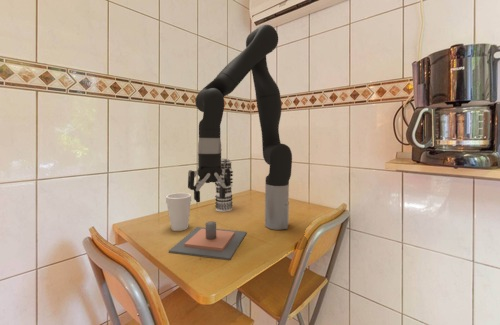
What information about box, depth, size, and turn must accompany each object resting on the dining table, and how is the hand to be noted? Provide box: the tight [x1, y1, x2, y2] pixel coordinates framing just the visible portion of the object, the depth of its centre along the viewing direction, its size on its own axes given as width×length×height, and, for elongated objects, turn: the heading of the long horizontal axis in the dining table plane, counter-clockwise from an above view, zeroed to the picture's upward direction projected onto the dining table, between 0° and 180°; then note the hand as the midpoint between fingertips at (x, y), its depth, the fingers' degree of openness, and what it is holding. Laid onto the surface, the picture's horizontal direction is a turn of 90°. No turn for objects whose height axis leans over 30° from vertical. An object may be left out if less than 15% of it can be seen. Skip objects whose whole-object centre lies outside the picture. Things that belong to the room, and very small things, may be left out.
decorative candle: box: [214, 158, 234, 213], centre depth 117 cm, size 9×9×25 cm
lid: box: [184, 221, 235, 251], centre depth 81 cm, size 13×13×6 cm
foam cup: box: [165, 192, 192, 232], centre depth 93 cm, size 10×9×13 cm
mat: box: [168, 226, 247, 261], centre depth 82 cm, size 20×20×1 cm
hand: (210, 200), depth 80 cm, fingers open, 8 cm apart
